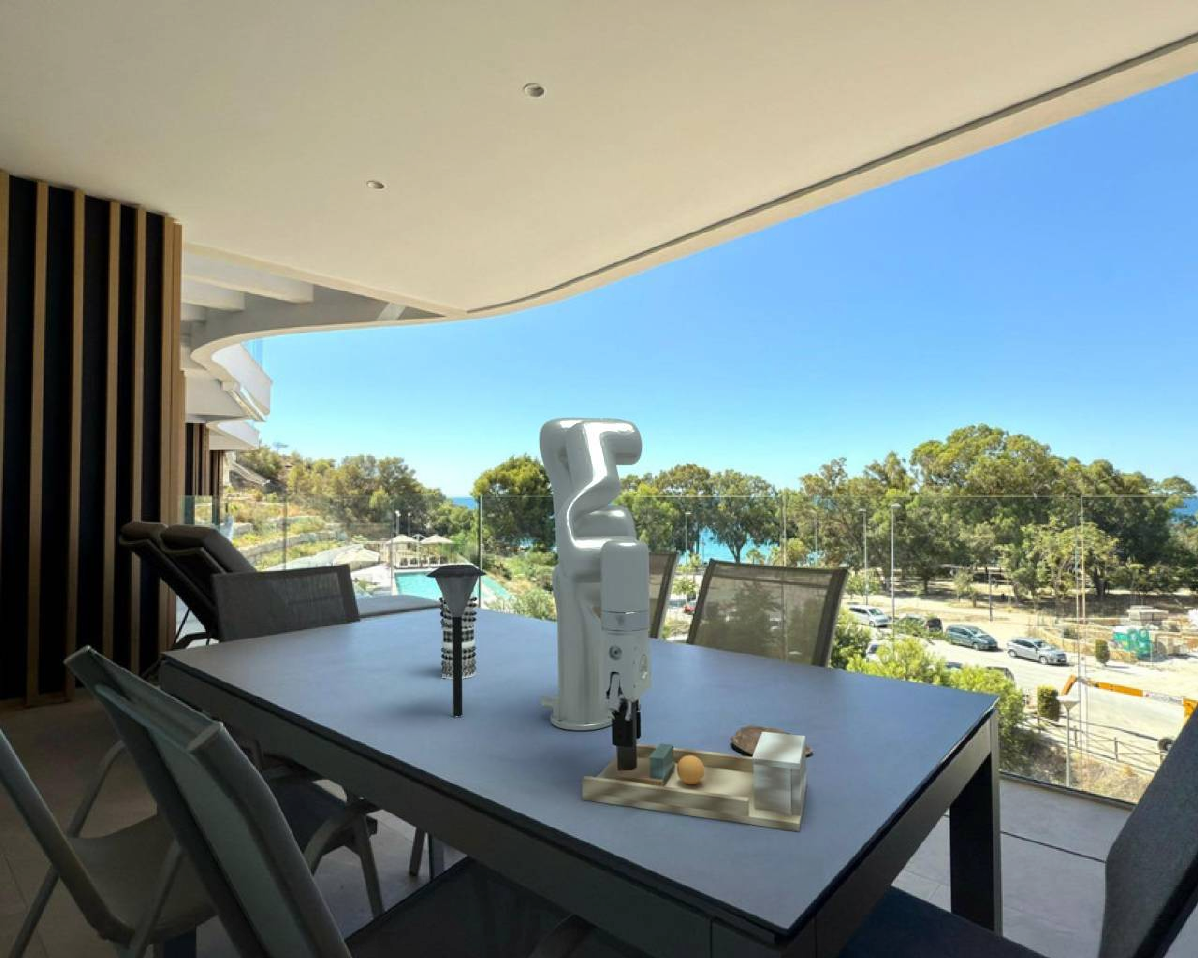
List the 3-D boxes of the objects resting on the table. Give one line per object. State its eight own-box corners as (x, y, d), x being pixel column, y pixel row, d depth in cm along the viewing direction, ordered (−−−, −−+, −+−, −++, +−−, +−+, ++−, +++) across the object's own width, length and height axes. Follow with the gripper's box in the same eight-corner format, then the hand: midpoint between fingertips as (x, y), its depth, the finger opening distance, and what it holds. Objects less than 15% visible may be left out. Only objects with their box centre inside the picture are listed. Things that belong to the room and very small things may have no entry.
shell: (760, 768, 111) (760, 746, 111) (717, 743, 123) (717, 722, 123) (818, 757, 115) (817, 735, 116) (771, 734, 127) (771, 714, 127)
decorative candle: (470, 681, 166) (469, 576, 166) (433, 680, 167) (433, 576, 168) (482, 671, 175) (482, 572, 176) (447, 670, 176) (447, 572, 177)
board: (582, 799, 99) (582, 744, 100) (618, 759, 114) (617, 712, 115) (799, 831, 89) (798, 770, 89) (807, 783, 104) (806, 730, 104)
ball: (674, 786, 101) (673, 759, 101) (680, 776, 105) (680, 749, 105) (701, 790, 100) (700, 762, 100) (706, 779, 103) (706, 752, 103)
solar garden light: (501, 714, 139) (499, 565, 140) (450, 730, 130) (449, 570, 131) (463, 703, 148) (462, 562, 148) (413, 717, 138) (413, 566, 139)
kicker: (609, 781, 102) (608, 708, 103) (625, 762, 110) (625, 694, 110) (661, 789, 100) (660, 713, 100) (675, 768, 107) (674, 698, 107)
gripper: (632, 631, 97) (633, 764, 97) (663, 613, 113) (664, 727, 112) (582, 628, 100) (584, 757, 99) (619, 611, 115) (621, 722, 115)
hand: (626, 740), depth 106 cm, fingers closed on kicker, 3 cm apart
